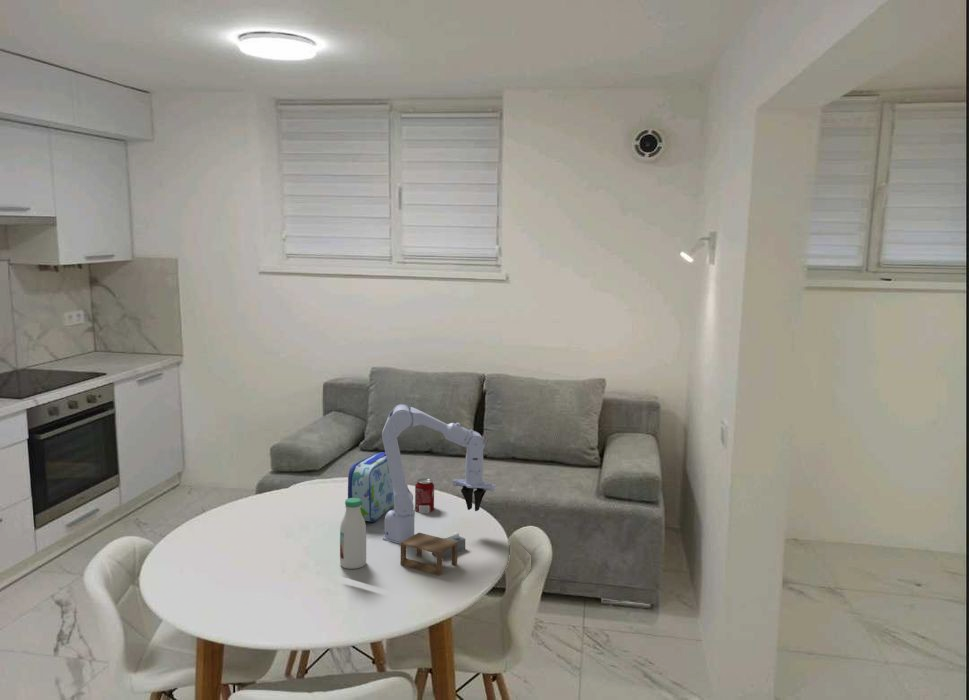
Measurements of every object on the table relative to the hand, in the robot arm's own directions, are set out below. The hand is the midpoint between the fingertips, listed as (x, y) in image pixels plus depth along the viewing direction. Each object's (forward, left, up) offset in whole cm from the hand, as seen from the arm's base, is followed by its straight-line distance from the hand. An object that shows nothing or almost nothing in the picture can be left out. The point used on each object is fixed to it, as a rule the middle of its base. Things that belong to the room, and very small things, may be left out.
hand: (473, 509), depth 244 cm
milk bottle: (-19, -38, -10) cm, 44 cm away
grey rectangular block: (0, -15, -10) cm, 18 cm away
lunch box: (-41, 0, -10) cm, 43 cm away
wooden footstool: (0, -26, -9) cm, 28 cm away
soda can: (-26, +10, -10) cm, 30 cm away
